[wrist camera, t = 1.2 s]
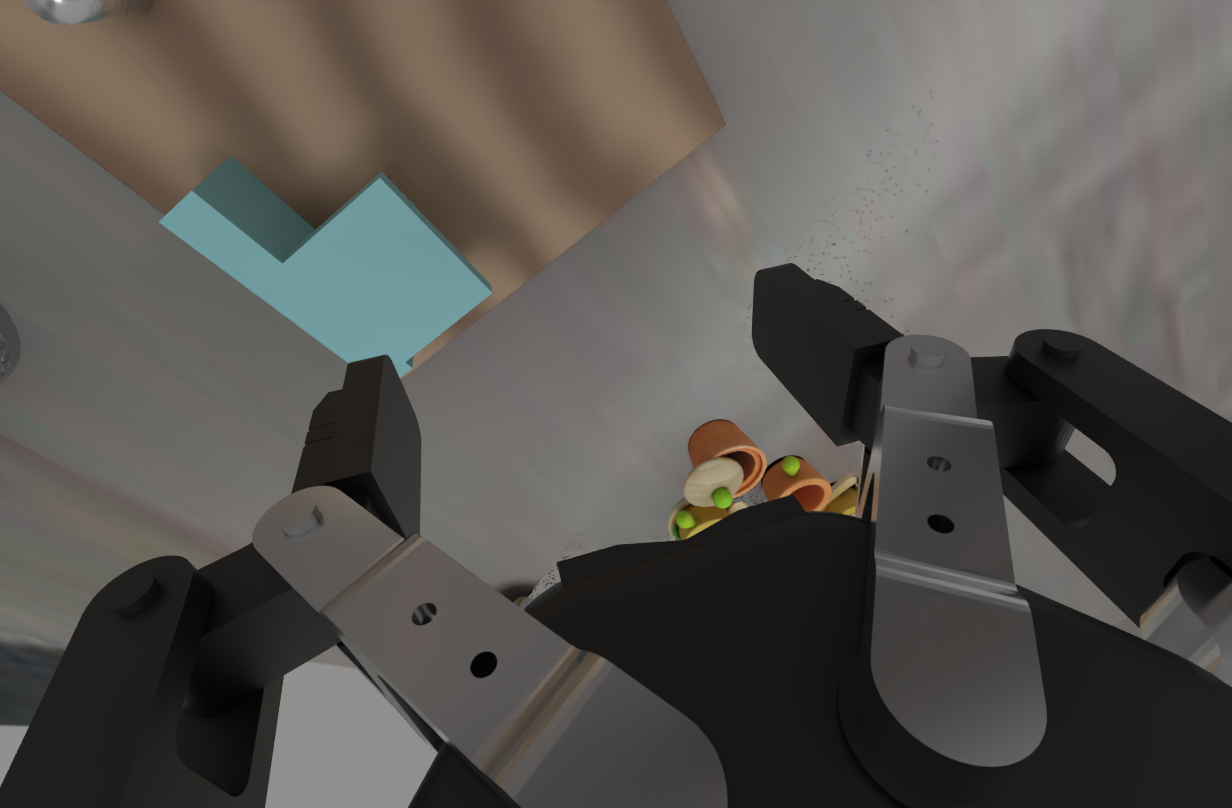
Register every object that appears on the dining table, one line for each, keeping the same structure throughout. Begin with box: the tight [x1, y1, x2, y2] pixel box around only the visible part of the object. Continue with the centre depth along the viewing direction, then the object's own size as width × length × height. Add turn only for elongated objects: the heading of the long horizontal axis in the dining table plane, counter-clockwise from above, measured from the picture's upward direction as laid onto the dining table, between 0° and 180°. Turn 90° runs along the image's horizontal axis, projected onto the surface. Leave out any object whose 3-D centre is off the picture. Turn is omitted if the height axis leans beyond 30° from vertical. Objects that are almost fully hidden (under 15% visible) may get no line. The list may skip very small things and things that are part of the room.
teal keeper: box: [159, 156, 492, 378], centre depth 28 cm, size 8×12×6 cm
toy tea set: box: [667, 419, 859, 541], centre depth 51 cm, size 26×16×10 cm, turn 52°
